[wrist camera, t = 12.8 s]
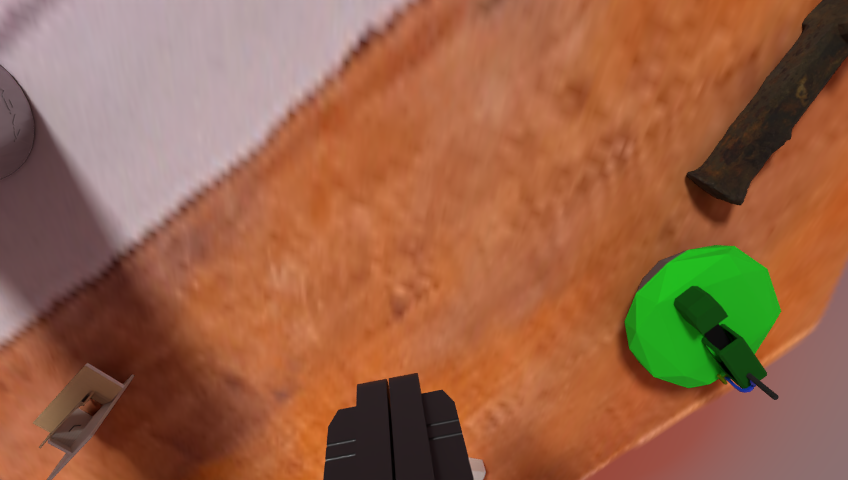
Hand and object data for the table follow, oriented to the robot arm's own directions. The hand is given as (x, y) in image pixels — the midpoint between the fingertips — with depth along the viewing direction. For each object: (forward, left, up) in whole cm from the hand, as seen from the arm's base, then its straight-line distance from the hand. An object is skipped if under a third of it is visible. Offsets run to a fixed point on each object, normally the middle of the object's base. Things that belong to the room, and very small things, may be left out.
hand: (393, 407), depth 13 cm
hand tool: (+30, +2, -28) cm, 41 cm away
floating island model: (+23, -15, -27) cm, 39 cm away
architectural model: (-25, -15, -28) cm, 40 cm away
